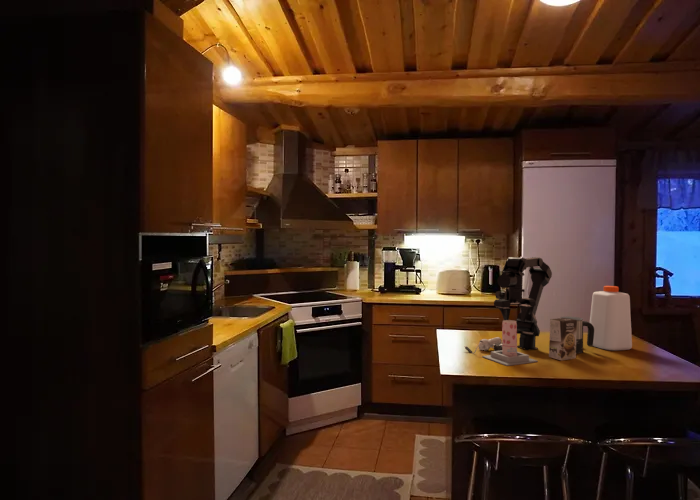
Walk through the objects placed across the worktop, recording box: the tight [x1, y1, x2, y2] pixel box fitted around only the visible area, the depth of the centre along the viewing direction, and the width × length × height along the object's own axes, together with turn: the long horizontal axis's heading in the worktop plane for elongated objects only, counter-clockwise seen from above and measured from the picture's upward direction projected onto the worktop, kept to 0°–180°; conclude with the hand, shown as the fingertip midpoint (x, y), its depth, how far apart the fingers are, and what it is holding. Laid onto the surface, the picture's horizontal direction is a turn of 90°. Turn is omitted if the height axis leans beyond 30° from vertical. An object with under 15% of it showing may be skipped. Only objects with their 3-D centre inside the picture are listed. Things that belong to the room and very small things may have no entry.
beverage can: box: [501, 319, 518, 357], centre depth 189 cm, size 6×6×15 cm
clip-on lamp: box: [464, 336, 502, 355], centre depth 200 cm, size 12×6×18 cm
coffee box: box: [548, 317, 577, 361], centre depth 192 cm, size 9×6×16 cm
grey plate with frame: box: [481, 350, 539, 367], centre depth 188 cm, size 16×14×2 cm
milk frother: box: [560, 316, 594, 355], centre depth 208 cm, size 14×16×15 cm
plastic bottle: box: [589, 285, 633, 352], centre depth 213 cm, size 15×15×28 cm
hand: (514, 322), depth 200 cm, fingers open, 9 cm apart
